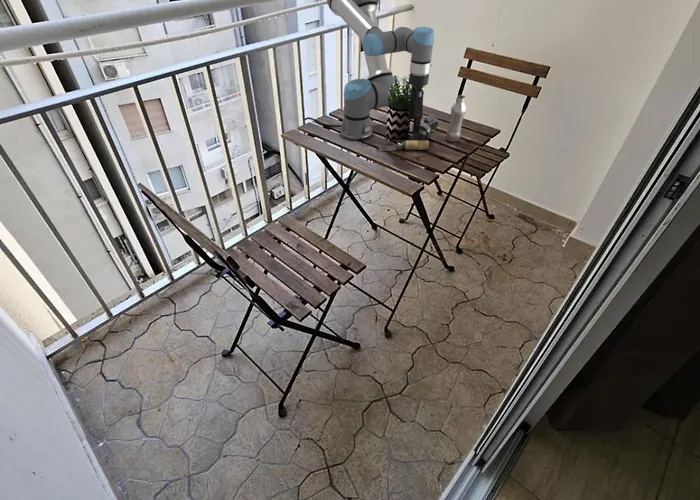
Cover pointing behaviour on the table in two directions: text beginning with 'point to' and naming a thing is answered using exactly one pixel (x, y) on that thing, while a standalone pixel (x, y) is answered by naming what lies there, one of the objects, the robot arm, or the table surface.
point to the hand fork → (407, 146)
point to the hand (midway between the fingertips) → (413, 125)
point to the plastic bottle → (456, 119)
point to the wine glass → (426, 128)
